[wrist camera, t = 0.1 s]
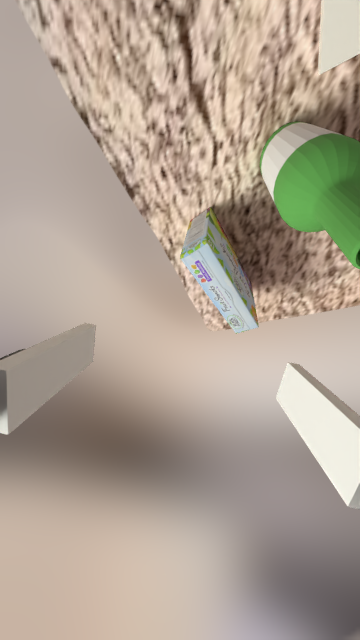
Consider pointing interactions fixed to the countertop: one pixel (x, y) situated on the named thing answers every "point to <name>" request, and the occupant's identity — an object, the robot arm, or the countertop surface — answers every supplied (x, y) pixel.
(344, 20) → the dial board
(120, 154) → the countertop surface
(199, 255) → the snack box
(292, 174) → the wine bottle
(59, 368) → the robot arm
